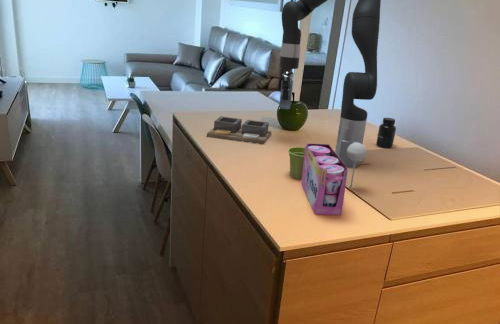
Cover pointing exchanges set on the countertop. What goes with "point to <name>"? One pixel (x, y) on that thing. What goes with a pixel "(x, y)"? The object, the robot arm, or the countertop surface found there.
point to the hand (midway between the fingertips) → (285, 98)
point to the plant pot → (296, 161)
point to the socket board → (240, 130)
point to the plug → (286, 103)
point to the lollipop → (356, 155)
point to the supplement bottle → (386, 133)
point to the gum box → (324, 179)
